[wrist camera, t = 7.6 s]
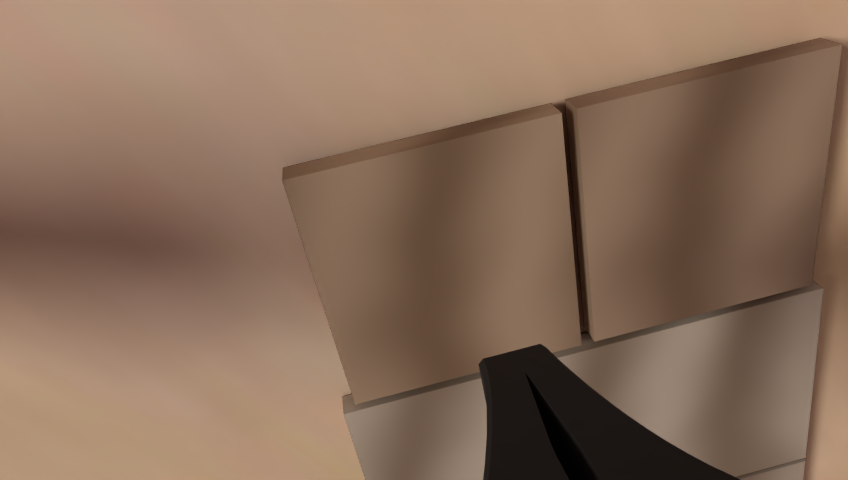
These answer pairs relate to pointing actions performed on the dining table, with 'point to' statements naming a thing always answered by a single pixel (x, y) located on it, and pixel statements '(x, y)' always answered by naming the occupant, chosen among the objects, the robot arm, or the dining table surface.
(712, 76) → the plank
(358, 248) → the plank
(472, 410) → the grey slab
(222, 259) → the dining table surface
